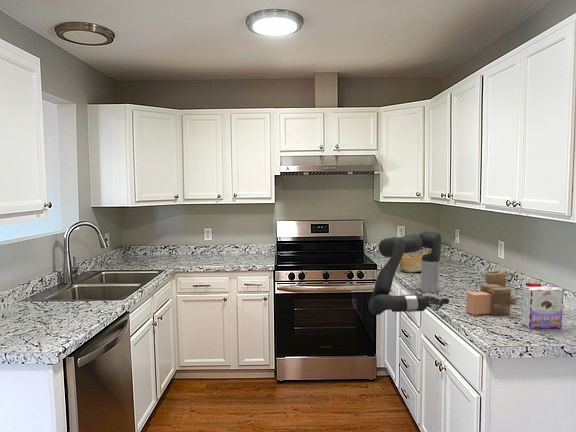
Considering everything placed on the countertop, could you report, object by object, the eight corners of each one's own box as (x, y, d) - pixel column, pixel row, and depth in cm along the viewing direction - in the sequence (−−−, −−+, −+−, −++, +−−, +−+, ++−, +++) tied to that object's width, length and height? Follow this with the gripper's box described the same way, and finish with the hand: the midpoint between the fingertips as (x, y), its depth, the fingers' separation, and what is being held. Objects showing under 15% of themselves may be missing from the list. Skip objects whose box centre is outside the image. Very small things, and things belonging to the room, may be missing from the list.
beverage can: (526, 303, 197) (528, 280, 197) (541, 306, 194) (542, 282, 193) (524, 306, 193) (526, 282, 192) (539, 309, 189) (541, 284, 188)
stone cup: (480, 295, 212) (481, 268, 211) (503, 296, 211) (504, 268, 210) (492, 303, 197) (493, 274, 196) (517, 304, 196) (518, 274, 195)
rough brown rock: (430, 270, 281) (429, 249, 281) (436, 273, 264) (435, 251, 265) (396, 270, 283) (396, 250, 284) (400, 273, 267) (400, 251, 267)
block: (466, 311, 183) (466, 292, 182) (496, 309, 186) (496, 290, 185) (473, 314, 178) (474, 295, 177) (503, 312, 181) (504, 293, 181)
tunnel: (479, 309, 187) (480, 284, 186) (494, 308, 189) (495, 283, 188) (494, 316, 177) (495, 289, 177) (509, 315, 179) (511, 289, 178)
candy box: (551, 323, 168) (554, 285, 167) (561, 328, 162) (564, 289, 161) (520, 323, 167) (522, 285, 166) (529, 328, 162) (531, 289, 160)
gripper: (421, 298, 168) (457, 296, 171) (405, 290, 181) (439, 289, 184) (420, 315, 168) (456, 313, 172) (405, 306, 181) (439, 304, 184)
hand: (447, 300), depth 178 cm, fingers closed
